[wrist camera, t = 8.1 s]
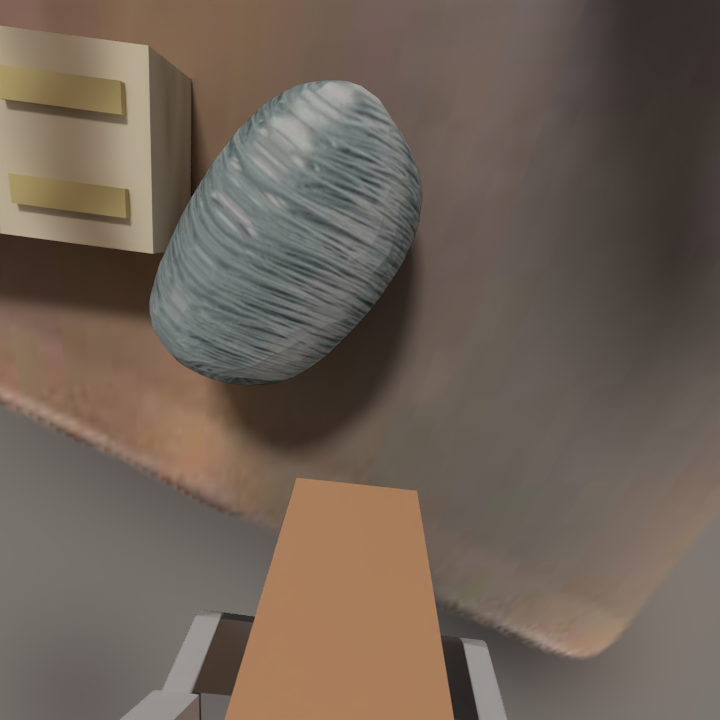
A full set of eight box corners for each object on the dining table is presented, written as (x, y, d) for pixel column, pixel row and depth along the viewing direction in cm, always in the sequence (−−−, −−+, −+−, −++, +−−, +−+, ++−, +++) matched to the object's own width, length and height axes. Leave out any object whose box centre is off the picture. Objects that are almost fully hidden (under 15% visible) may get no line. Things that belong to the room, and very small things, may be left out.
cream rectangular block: (-67, 214, 23) (-164, 212, 19) (-97, 40, 20) (-216, -6, 16) (190, 249, 23) (149, 254, 19) (191, 79, 20) (144, 42, 16)
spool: (290, 438, 22) (170, 429, 13) (189, 321, 25) (28, 243, 16) (471, 256, 22) (487, 111, 13) (351, 159, 25) (290, -20, 16)
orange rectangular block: (286, 628, 12) (178, 1129, 5) (296, 478, 10) (163, 921, 4) (390, 639, 12) (413, 1153, 5) (416, 490, 10) (491, 955, 4)
